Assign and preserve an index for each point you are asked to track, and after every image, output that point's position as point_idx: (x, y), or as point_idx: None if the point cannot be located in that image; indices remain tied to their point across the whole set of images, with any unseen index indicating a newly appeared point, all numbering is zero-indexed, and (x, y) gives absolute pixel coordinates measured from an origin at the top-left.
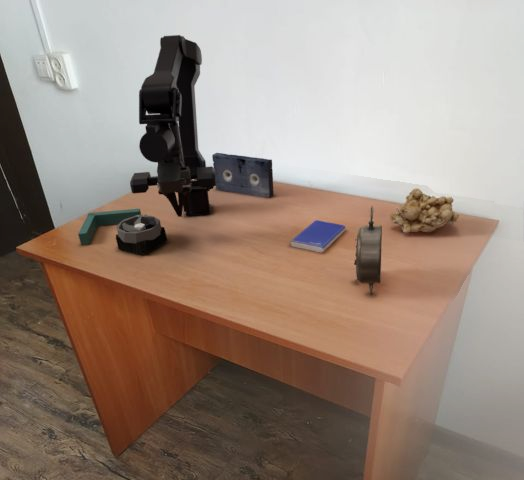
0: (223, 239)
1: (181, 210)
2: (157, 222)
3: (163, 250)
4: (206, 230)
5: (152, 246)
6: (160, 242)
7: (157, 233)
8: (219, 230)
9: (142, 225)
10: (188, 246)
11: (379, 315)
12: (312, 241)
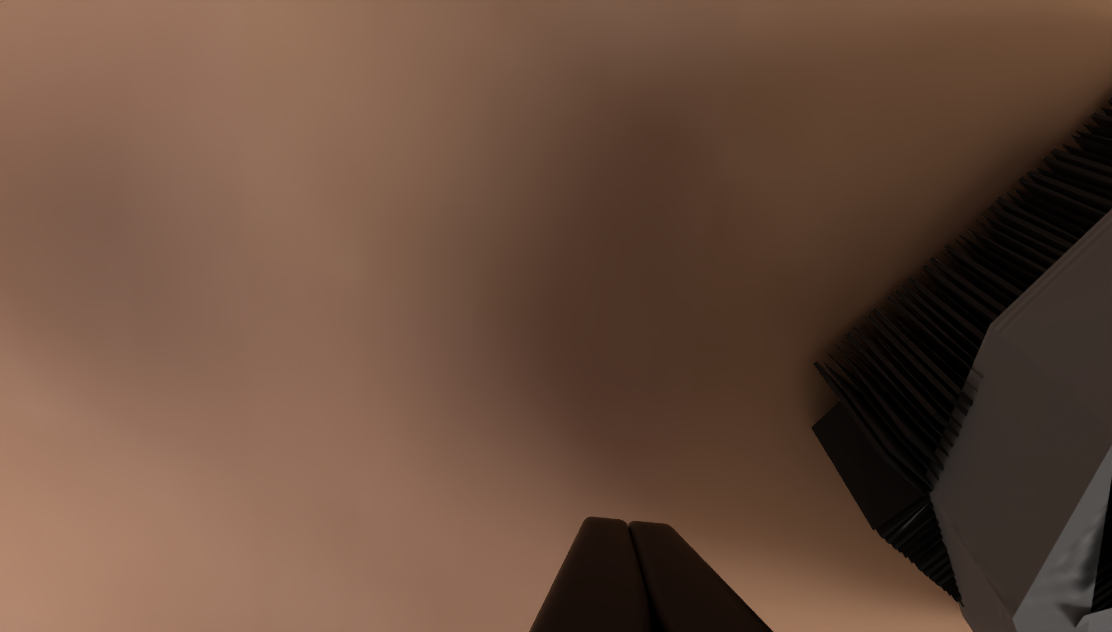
0: (11, 202)
1: (572, 599)
2: (1086, 521)
3: (910, 124)
4: (274, 529)
5: (1101, 156)
6: (937, 288)
7: (1068, 298)
8: (97, 483)
9: None
10: (539, 137)
11: None
12: None
